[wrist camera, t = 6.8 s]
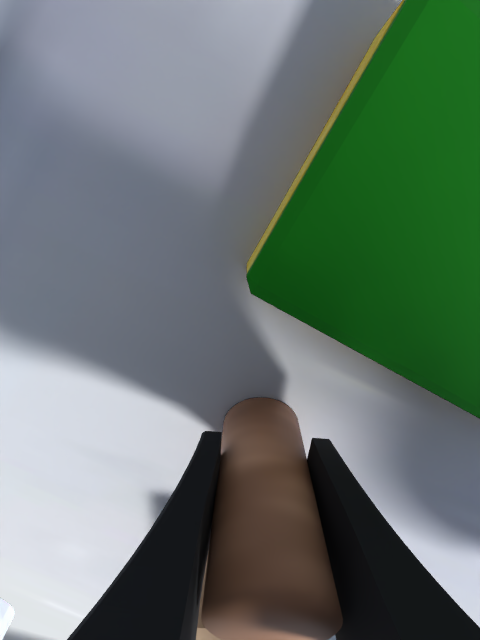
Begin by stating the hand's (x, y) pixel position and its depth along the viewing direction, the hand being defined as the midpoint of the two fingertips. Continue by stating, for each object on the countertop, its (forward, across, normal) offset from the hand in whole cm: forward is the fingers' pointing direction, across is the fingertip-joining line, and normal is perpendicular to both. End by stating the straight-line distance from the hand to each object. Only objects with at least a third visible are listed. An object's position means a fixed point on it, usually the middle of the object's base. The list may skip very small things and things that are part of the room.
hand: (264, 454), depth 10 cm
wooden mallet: (+2, 0, +6) cm, 6 cm away
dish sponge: (+3, -6, -7) cm, 10 cm away
